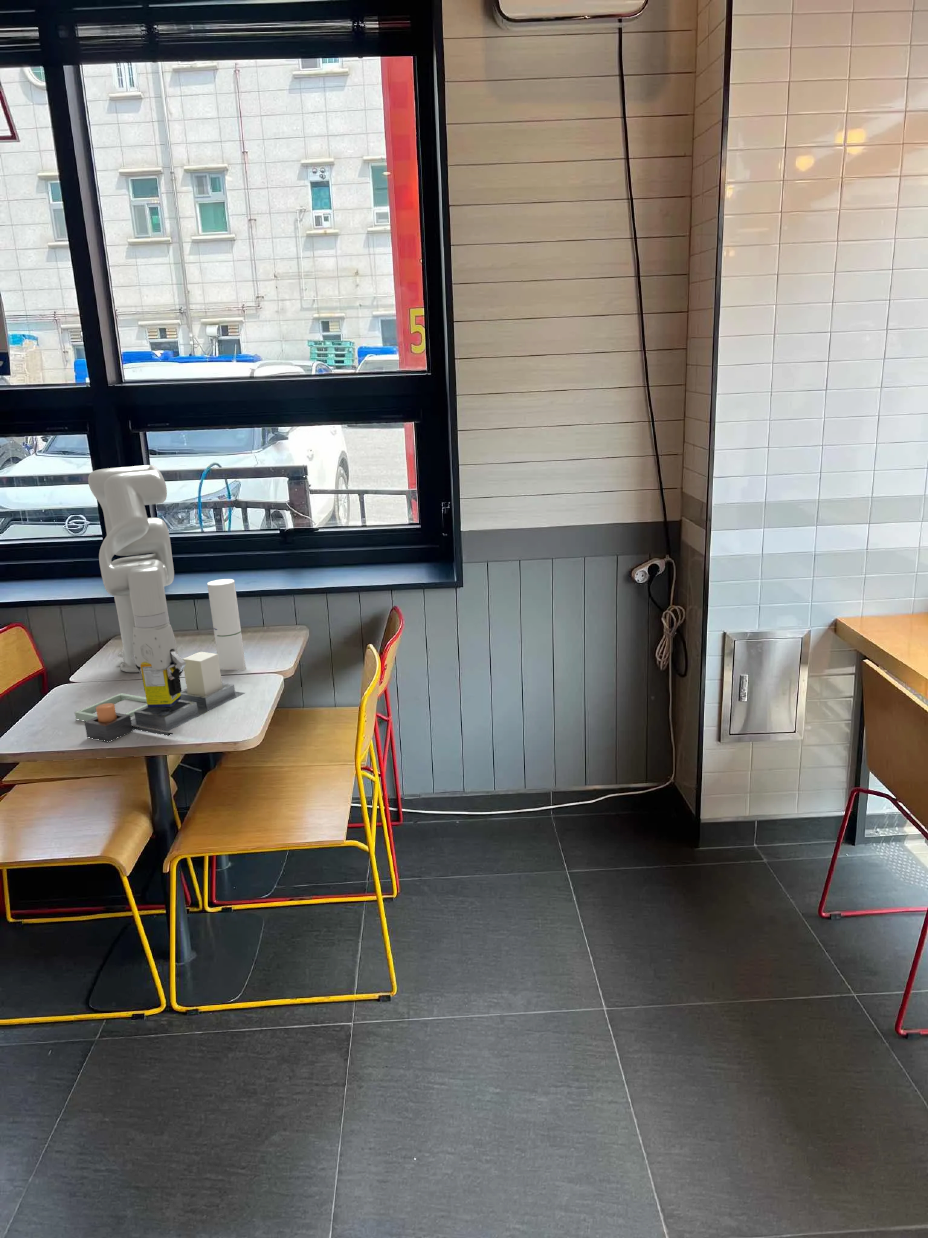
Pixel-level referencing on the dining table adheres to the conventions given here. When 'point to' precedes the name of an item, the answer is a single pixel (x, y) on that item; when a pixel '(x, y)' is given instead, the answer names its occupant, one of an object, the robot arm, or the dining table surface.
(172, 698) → the supplement box
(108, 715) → the button
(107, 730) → the button housing
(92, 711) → the frame
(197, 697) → the grey open box
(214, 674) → the block
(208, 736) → the dining table surface
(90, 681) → the dining table surface
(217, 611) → the cylindrical container
